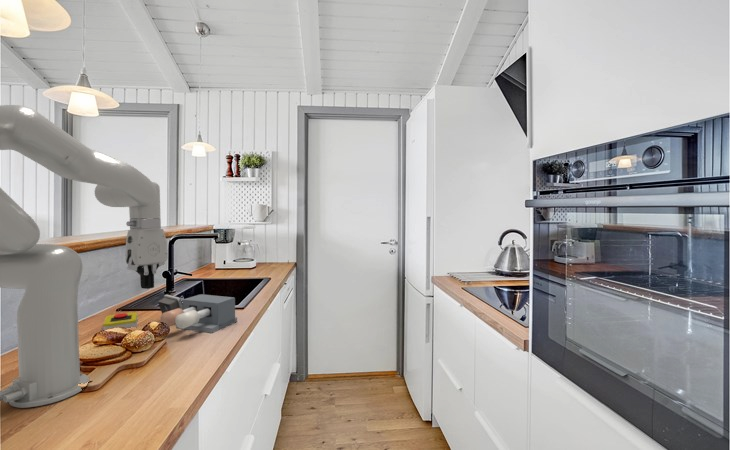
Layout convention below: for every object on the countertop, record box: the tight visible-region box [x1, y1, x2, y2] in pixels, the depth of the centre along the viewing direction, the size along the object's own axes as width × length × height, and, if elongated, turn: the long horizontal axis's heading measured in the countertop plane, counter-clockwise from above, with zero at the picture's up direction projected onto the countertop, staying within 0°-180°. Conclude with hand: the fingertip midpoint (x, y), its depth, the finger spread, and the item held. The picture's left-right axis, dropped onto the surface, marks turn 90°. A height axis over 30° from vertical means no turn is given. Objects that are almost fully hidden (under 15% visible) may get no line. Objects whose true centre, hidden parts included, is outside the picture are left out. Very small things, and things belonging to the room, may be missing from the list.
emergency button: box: [102, 311, 139, 331], centre depth 117 cm, size 9×4×15 cm
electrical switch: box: [157, 294, 183, 315], centre depth 121 cm, size 9×5×9 cm, turn 57°
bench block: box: [175, 293, 238, 334], centre depth 117 cm, size 12×15×9 cm
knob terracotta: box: [160, 306, 197, 327], centre depth 111 cm, size 12×4×4 cm, turn 161°
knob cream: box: [175, 308, 211, 330], centre depth 109 cm, size 12×4×4 cm, turn 161°
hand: (147, 287), depth 100 cm, fingers closed
